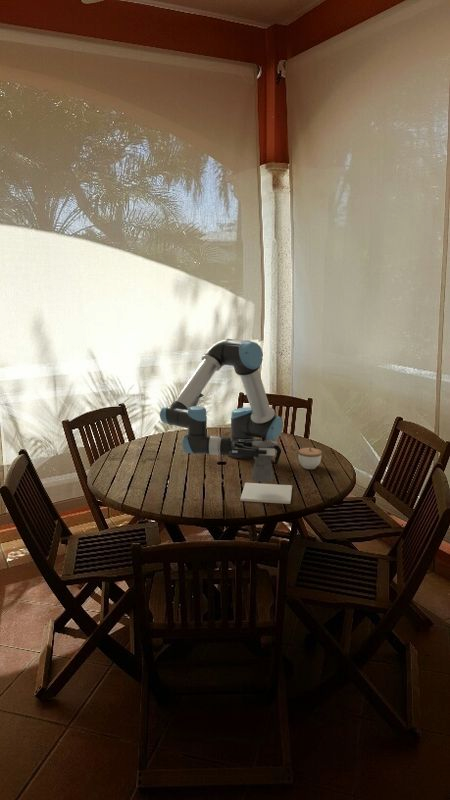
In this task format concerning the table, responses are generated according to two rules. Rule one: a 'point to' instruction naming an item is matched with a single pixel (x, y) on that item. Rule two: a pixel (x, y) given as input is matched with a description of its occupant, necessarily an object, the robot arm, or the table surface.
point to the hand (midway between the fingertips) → (276, 448)
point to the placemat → (267, 493)
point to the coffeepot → (264, 461)
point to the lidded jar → (309, 457)
